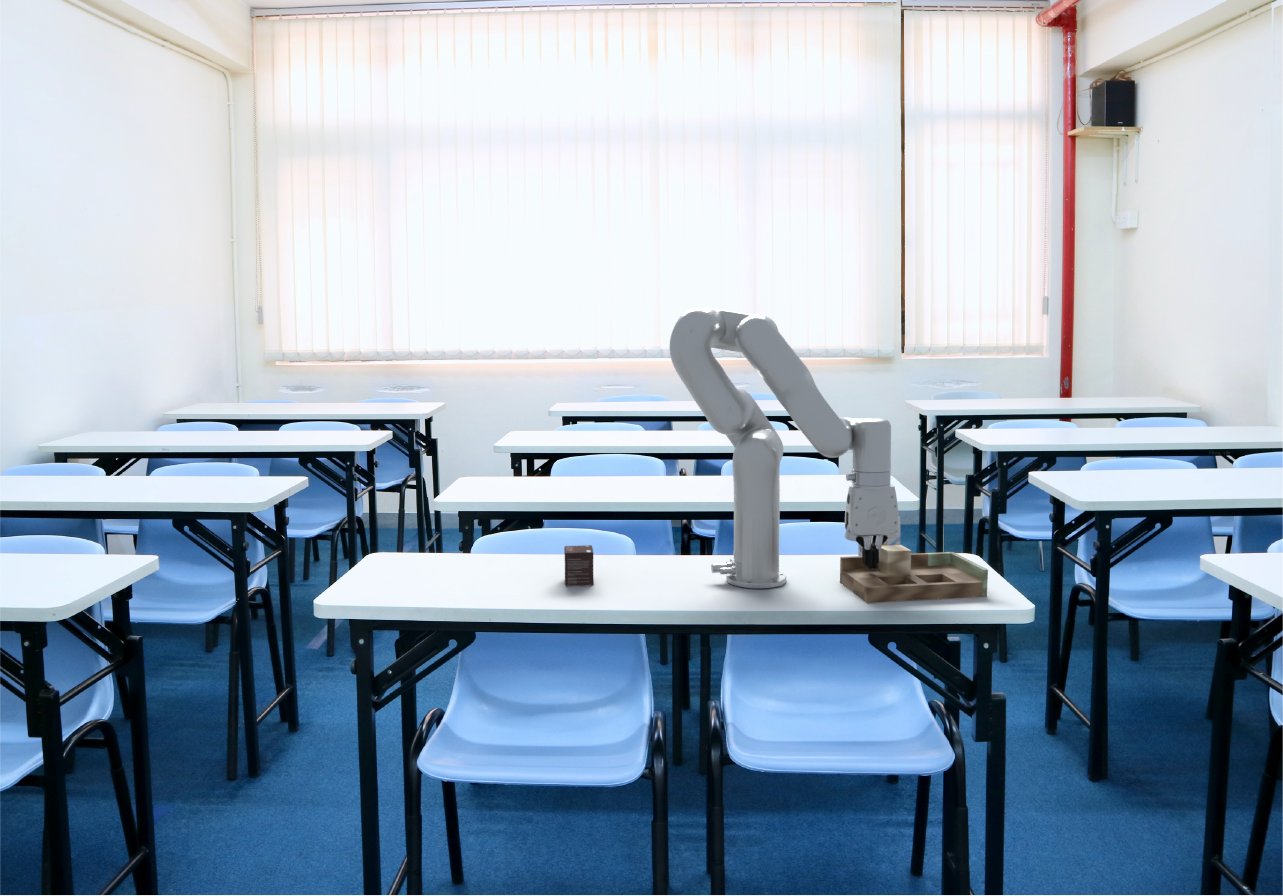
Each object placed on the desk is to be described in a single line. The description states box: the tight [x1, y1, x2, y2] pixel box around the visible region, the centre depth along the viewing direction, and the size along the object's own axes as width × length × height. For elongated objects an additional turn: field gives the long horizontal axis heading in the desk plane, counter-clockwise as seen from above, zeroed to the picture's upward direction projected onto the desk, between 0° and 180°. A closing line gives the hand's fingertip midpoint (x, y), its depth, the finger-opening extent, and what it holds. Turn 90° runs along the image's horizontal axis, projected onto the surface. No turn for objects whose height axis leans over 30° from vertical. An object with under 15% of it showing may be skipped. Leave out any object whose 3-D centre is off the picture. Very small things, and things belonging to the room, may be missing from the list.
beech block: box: [878, 544, 912, 575], centre depth 200 cm, size 5×5×5 cm
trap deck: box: [839, 551, 989, 604], centre depth 198 cm, size 25×15×6 cm, turn 98°
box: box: [564, 544, 595, 587], centre depth 205 cm, size 6×6×7 cm
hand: (870, 566), depth 199 cm, fingers closed
